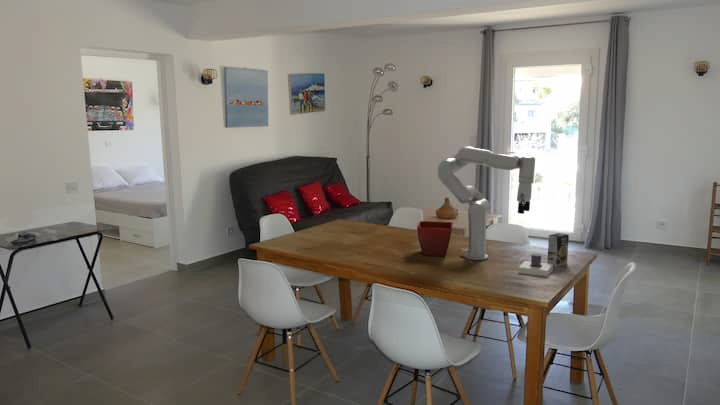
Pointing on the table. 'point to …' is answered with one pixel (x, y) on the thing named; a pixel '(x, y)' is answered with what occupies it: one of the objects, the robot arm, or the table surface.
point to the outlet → (535, 269)
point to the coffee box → (558, 249)
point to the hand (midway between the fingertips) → (523, 212)
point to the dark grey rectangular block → (536, 260)
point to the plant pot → (434, 237)
